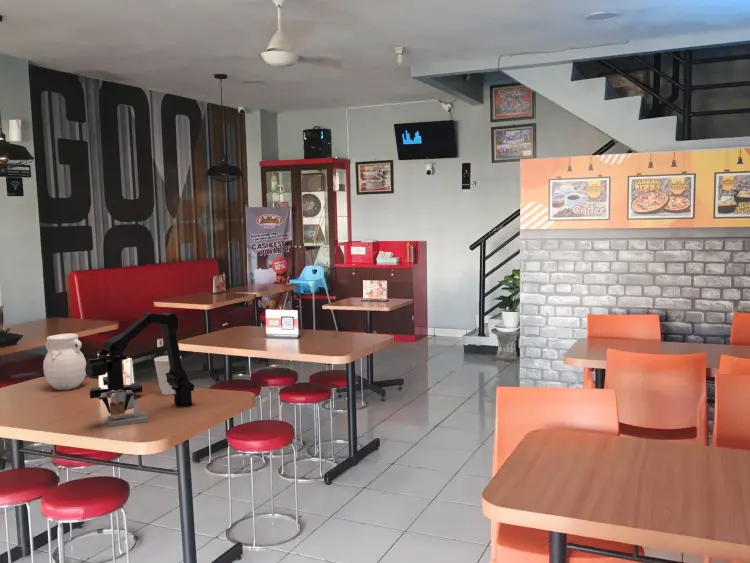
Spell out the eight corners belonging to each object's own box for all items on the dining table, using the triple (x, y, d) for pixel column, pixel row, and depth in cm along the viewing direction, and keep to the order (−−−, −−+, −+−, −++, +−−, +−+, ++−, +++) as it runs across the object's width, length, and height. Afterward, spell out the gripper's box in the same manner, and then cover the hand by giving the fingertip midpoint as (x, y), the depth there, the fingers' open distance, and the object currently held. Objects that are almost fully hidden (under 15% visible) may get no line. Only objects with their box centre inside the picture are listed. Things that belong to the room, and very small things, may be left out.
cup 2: (158, 390, 301) (157, 355, 300) (185, 388, 303) (183, 354, 301) (153, 396, 290) (151, 361, 288) (180, 395, 291) (178, 360, 289)
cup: (137, 406, 275) (136, 385, 274) (117, 412, 266) (115, 391, 265) (126, 404, 278) (125, 383, 278) (106, 410, 270) (104, 389, 269)
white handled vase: (35, 392, 302) (31, 339, 300) (61, 382, 320) (57, 332, 318) (72, 393, 299) (68, 339, 297) (95, 383, 317) (92, 332, 315)
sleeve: (124, 413, 256) (123, 401, 256) (125, 417, 252) (124, 404, 251) (110, 415, 254) (109, 402, 254) (111, 418, 249) (110, 406, 249)
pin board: (145, 415, 262) (144, 395, 261) (147, 421, 253) (146, 401, 252) (107, 420, 256) (106, 400, 255) (108, 427, 247) (107, 406, 246)
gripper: (139, 365, 262) (141, 403, 264) (88, 371, 255) (91, 410, 256) (141, 371, 252) (143, 410, 254) (88, 377, 245) (91, 417, 246)
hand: (117, 412), depth 253 cm, fingers open, 5 cm apart
